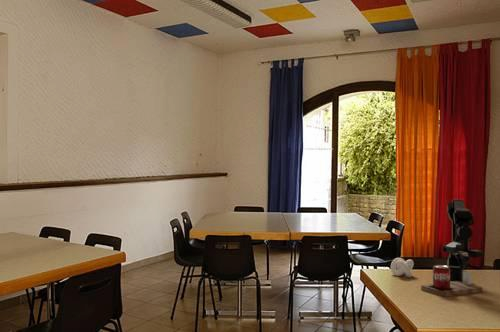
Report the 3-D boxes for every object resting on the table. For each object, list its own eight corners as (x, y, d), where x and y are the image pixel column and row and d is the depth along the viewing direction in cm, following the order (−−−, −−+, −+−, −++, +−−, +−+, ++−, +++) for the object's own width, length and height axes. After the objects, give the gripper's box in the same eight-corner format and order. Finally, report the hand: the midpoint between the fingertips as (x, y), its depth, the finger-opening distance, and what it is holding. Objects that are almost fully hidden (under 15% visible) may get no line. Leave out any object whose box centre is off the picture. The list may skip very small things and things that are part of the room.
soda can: (451, 295, 196) (452, 268, 196) (434, 294, 197) (435, 267, 197) (447, 291, 203) (448, 265, 203) (431, 290, 204) (431, 264, 204)
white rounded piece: (387, 276, 231) (388, 259, 231) (393, 272, 241) (393, 256, 241) (410, 279, 225) (410, 262, 225) (414, 275, 235) (414, 258, 235)
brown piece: (458, 285, 214) (458, 268, 214) (482, 291, 202) (482, 274, 202) (421, 289, 203) (421, 272, 203) (444, 297, 192) (444, 278, 192)
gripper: (434, 234, 211) (433, 266, 211) (467, 240, 194) (467, 275, 194) (450, 233, 216) (449, 265, 216) (484, 239, 199) (484, 273, 199)
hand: (461, 269), depth 206 cm, fingers closed
